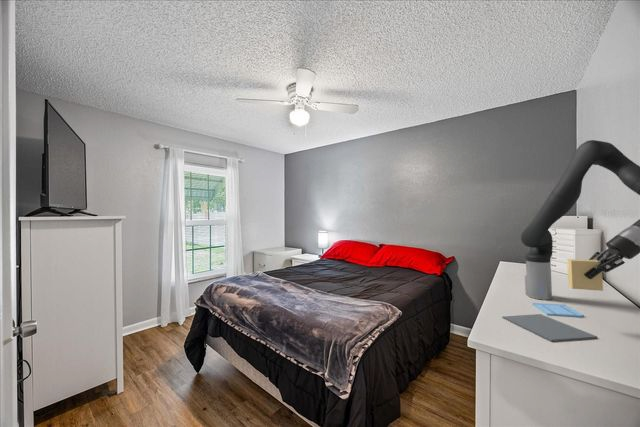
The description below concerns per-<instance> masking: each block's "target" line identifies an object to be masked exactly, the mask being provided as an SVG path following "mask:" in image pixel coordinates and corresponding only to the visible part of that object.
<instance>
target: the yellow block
mask: <svg viewBox="0 0 640 427" xmlns="http://www.w3.org/2000/svg"><path fill="white" fill-rule="evenodd" d="M566 262H567V264H566V265H567V281H568V282H567V283H568V287H569V288H570V289H573V290H586V291H600V292H601V291H604V286H603V285H604V284H603V272H602V273H601V272H600V273H599V274H598V275H596V276H595V277H593V278H592V279H589V278H587V277H586V276H585V275H584V274H585V273H586V272H588V271H589V270H590V269H592V268H594V266H595V265H597V264H598V263H599V262H598V260H589V259H577V258H575V259H574V258H573V259H572V258H571V259H570V258H567V260H566Z"/></svg>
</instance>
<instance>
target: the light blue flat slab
mask: <svg viewBox="0 0 640 427" xmlns="http://www.w3.org/2000/svg"><path fill="white" fill-rule="evenodd" d="M531 305H532V306H533V307H535V309H537V310H539V311H541V312H542V313H543V314H545V316H550V317H551V316H555V317H565V318H566V317H568V318H579V319H580V318H585V315H584V314H583V313H581V312H579V311H577V310H576V309H573V308H572V307H570V306H568V305H566V304H558V303H557V304H556V303H543V302H542V303H540V302H531Z"/></svg>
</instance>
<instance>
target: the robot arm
mask: <svg viewBox="0 0 640 427" xmlns="http://www.w3.org/2000/svg"><path fill="white" fill-rule="evenodd" d="M592 166H599V167H602V168H604V169H606V170H608V171H610V172H612V173H613V174H614V175H616V176H617V177H618V179H619V180H620V181H621V182H622V183H623V185H624V186H626V187H627V188H628V189H630V190H631V191H633V192H634V193H635V194H637V195H638V196H640V165H638V164H637V163H635V162H634V161H633V160H631V159H630V158H628V157H627V156H626V155H625V154H624V153H623V152H622V151H621V150H620V149H618V147H616V146H615V145H614V144H612V143H610V142H608V141H601V140H594V139H593V140H591V139H590V140H587V141H585V142H582V143H581V144H580V145H579V146H578V148H576V150H575V152H574V153H573V156H572V157H571V159H570V161H569V164H568V165H567V167H566V169H565V171H564V173H563V174H562V176H561V177H560V179H559V180H558V182H557V183H556V185H555V186H554V188H553V189H552V191H551V192H550V194H549V195H548V197H546V200H545V201H544V203H543V205H542V206H541V208H540V209H539V210H538V212H537V214H536V215H535V217H534V218H533V219H532V220H531V222H530V223H529V224H528V225H527V227H526V228H525V229H524V230H523V231H522V233H521V235H520V238H521V239H520V240H521V242H522V244H523V245H524V246H526V247H529V248H530V249H529V252H528V253H526V255H525V270H526V274H525V275H524V287H525V288H524V290H525V295H526V296H527V297H529V298H531V299H537V300H544V301H545V300H546V301H548V300H549V301H550V300H552V299H553V291H552V290H553V288H552V287H553V286H552V285H553V284H552V264H551V260H552V256H553V246H554V244H553V235H552V232H550V230H549V229H551V227H552V226H553V225H554V223H556V222H557V221H558V220H560V219H561V218H562V217H563V216H565V215H566V214H567V213H569V211H570V210H571V209H572V208H573V207H574V206H575V204H576V202H577V201H578V200H579V198H580V196H581V193H582V187H583V185H582V184H583V180H584V178H585V176H586V174H587V172H588V171H589V170H590V169H591V167H592ZM605 246H606V247H607V249H606V250H602V251H601V252H599V251H596V252H595V253H593V254H592V256H591V257H589V259H588V260H598V262H599V263H598V264H597V265H595V266H594V268H592V269H590V270H589V271H588V272H586V273H585V274H584V275H585V276H586V277H587V278H589V279H592V278H593V277H595V276H596V275H598V274H599V273H600V272H601V273H602V274H603V273H608V272H611V271H612V270H615V269H616V268H619V267H620V266H622V265H625V263H626V262H625V261H624V260H623V259H627V260H632V259H634V257H636V256H638V255H639V254H640V218H639V219H637V221H635V222H633V223H632V224H631V225H630V226H628V227H626V228H624V229H623V230H621V231H620V232H618V234H616V235H615V236H613V237H612V238H611V239H609V240H608V241H607V242H605Z"/></svg>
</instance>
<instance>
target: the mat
mask: <svg viewBox="0 0 640 427" xmlns="http://www.w3.org/2000/svg"><path fill="white" fill-rule="evenodd" d="M501 318H502V319H503V318H504V320H505V319H506V320H505V321H507V320H508V322H509V321H510V323H512V324H513V325H516V326H517V327H520V328H522V329H524V330H525V331H528V332H530V333H532V334H534V335H537V336H538V337H541V338H542V339H543V340H544V339H545V340H546V341H547V342H564V341H565V342H567V341H581V340H595V339H598V336H597V335H594V334H592V333H589V332H587V331H584V330H582V329H579V328H577V327H574V326H572V325H569V324H568V323H564V322H563V321H559V320H556V319H554V318H551V317H549V316H548V315H544V314H541V313H538V314H534V313H533V314H520V315H505V316H504V315H503V316H502V317H501Z"/></svg>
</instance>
